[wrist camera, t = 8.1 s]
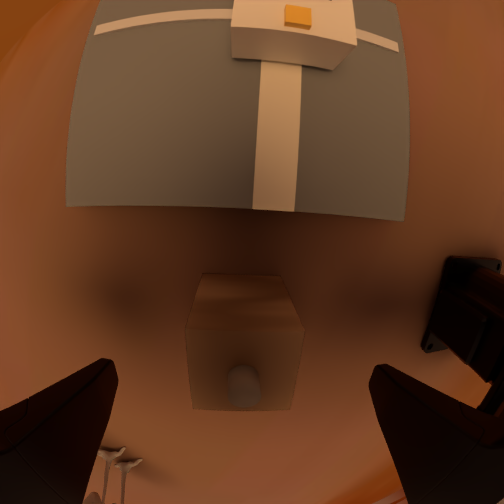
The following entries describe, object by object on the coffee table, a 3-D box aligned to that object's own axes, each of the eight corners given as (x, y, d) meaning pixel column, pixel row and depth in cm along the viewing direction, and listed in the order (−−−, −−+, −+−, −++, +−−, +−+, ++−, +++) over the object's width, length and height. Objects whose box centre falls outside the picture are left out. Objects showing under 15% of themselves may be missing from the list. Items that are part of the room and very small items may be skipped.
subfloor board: (383, 15, 9) (397, 2, 8) (387, 216, 12) (406, 222, 11) (115, -1, 8) (105, -15, 7) (82, 203, 11) (63, 207, 10)
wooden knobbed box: (280, 275, 13) (313, 349, 7) (273, 340, 14) (294, 428, 8) (202, 273, 13) (179, 347, 7) (204, 338, 13) (189, 428, 8)
